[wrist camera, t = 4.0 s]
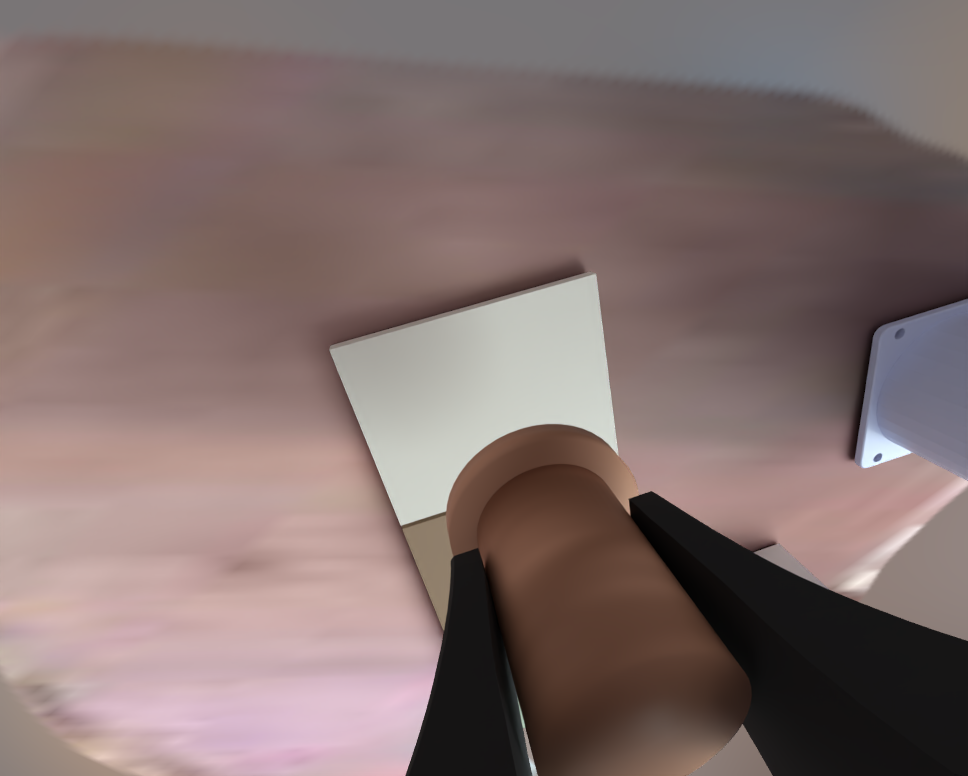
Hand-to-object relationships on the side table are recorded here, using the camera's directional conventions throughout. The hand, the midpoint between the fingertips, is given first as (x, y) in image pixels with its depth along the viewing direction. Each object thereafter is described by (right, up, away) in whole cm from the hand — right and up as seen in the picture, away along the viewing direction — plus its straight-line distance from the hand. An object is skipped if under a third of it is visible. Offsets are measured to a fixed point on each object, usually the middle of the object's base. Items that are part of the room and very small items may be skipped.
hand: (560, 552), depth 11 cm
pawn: (0, +1, +2) cm, 2 cm away
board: (0, -4, +11) cm, 12 cm away
